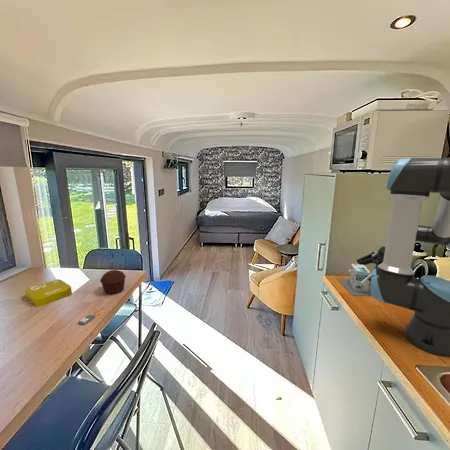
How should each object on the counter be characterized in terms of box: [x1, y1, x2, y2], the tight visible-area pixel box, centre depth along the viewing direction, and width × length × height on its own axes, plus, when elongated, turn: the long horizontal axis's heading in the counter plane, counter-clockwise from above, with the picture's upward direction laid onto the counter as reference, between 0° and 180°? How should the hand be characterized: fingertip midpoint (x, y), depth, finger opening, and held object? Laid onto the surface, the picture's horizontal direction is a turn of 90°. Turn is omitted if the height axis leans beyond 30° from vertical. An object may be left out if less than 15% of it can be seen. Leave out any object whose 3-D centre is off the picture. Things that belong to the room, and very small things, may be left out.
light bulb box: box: [349, 263, 372, 292], centre depth 133 cm, size 11×7×11 cm, turn 168°
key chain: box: [77, 310, 104, 326], centre depth 105 cm, size 13×4×2 cm, turn 161°
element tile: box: [24, 278, 73, 308], centre depth 120 cm, size 15×15×5 cm
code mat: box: [337, 278, 372, 297], centre depth 134 cm, size 18×14×1 cm
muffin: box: [99, 269, 127, 296], centre depth 126 cm, size 12×11×10 cm
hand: (355, 278), depth 133 cm, fingers open, 13 cm apart
